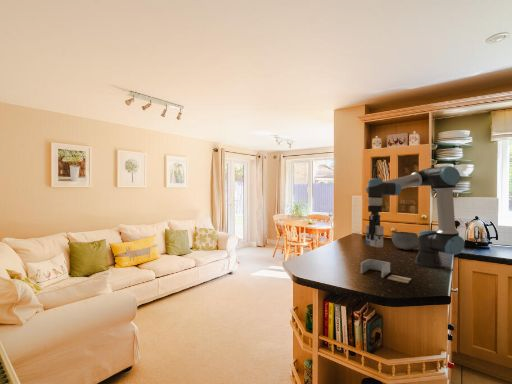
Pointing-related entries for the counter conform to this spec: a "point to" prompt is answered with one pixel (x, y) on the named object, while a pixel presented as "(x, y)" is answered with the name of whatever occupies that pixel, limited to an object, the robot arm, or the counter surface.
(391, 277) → the pad
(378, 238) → the ink box
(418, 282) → the counter surface
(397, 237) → the bowl
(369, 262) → the cradle
